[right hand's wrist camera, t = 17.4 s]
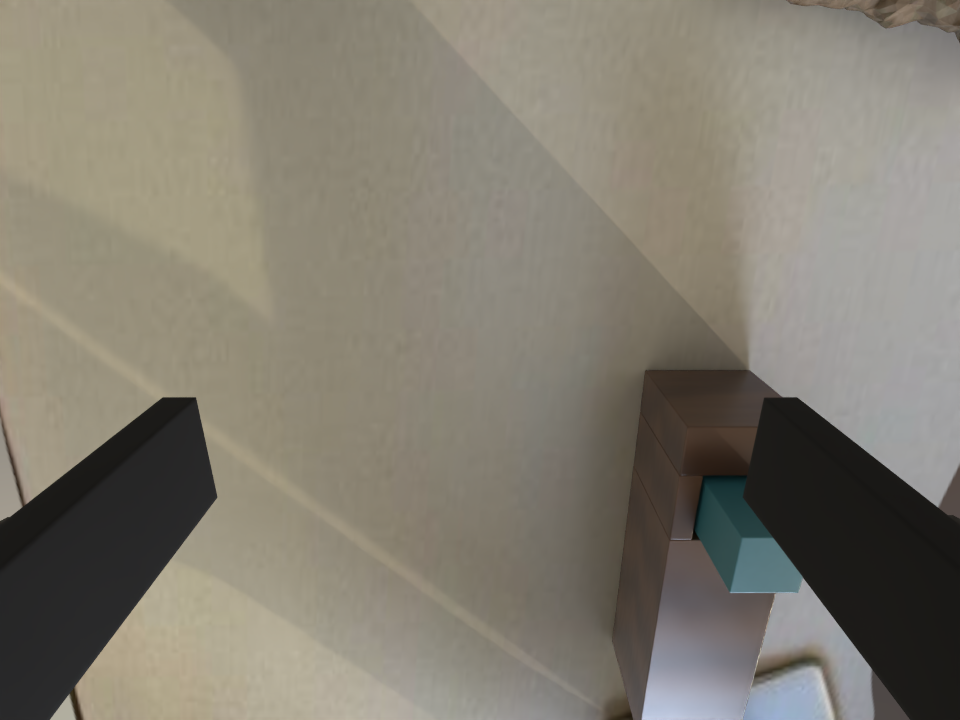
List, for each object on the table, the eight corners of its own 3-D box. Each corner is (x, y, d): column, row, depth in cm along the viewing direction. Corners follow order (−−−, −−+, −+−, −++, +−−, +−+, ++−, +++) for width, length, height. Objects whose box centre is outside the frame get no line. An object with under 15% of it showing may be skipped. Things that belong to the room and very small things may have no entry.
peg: (661, 417, 42) (741, 537, 29) (712, 417, 42) (815, 537, 29) (655, 461, 44) (729, 593, 31) (704, 461, 44) (799, 593, 31)
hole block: (645, 369, 41) (687, 426, 32) (750, 369, 41) (819, 427, 32) (612, 641, 51) (638, 737, 43) (696, 641, 51) (738, 737, 43)
